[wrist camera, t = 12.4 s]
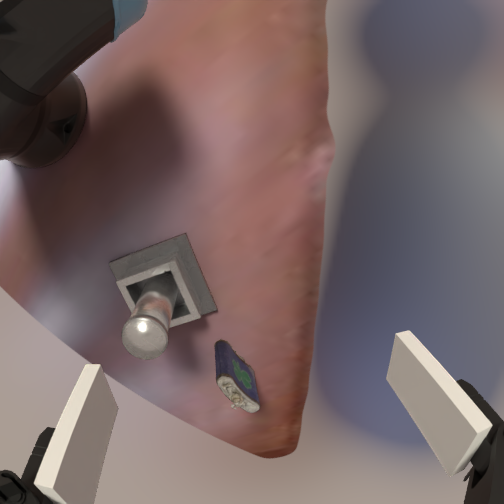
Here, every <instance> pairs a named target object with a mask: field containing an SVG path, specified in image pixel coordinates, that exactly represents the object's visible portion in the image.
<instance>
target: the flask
mask: <svg viewBox="0 0 504 504" xmlns="http://www.w3.org/2000/svg"><path fill="white" fill-rule="evenodd" d="M214 347H215V360H216V382H217V385H218V386H219V387H220V389H221V390H222V392H223V393H224V394H225V395H226V397H227V398H228V399H229V400H231V401H232V402H233V403H234V405H235V406H236V407H240V408H242V409H243V410H245V411H247V412H250V413H253V412H257V411H258V410H259V409H260V403H259V399H258V393H257V388H256V382H255V376H254V371H253V369H252V368H251V366H250V365H248V364H247V363H246V362H245V361H244V359H243V358H242V357H241V356H239V355H237V354H236V351H234V350H233V349H232V347H231V346H230V344H229V343H228V342H227V341H225V340H221V339H220V340H219V341H217V342H216V343H215V346H214ZM234 405H232V404H231V407H232V408H234ZM234 409H236V408H234Z"/></svg>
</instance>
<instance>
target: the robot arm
mask: <svg viewBox="0 0 504 504" xmlns="http://www.w3.org/2000/svg"><path fill="white" fill-rule="evenodd" d="M147 4H148V1H147V0H0V160H4V159H6V160H8V161H11V162H12V163H14V164H16V165H18V166H20V167H24V168H38V167H44V166H47V165H50V164H53V163H55V162H56V161H58V160H59V159H61V158H62V157H63V156H65V155H66V154H67V153H68V151H69V150H70V149H71V148H72V147H73V145H74V144H75V142H76V141H77V139H78V137H79V135H80V133H81V130H82V128H83V125H84V121H85V117H86V106H87V104H86V94H85V90H84V87H83V85H82V83H81V81H80V79H79V78H78V77H77V75H76V74H75V73H74V72H73V71H74V70H75V69H77V68H78V67H79V66H80V65H81V64H82V63H84V62H85V61H86V60H87V59H89V58H90V57H91V56H92V55H93V54H95V53H96V52H97V51H99V50H100V49H101V48H102V47H104V46H105V45H106V44H108V43H109V42H111V43H112V42H114V41H115V40H116V39H117V38H118V36H119V35H120V34H121V33H123V32H124V31H125V30H127V29H128V28H129V27H131V26H132V25H133V24H135V23H136V22H138V21H139V20H140V19H141V18H142V17H143V15H144V13H145V11H146V8H147ZM386 379H387V381H388V382H389V384H390V385H391V387H392V388H393V390H394V391H395V392H396V394H397V396H398V397H399V399H400V400H401V402H402V403H403V405H404V407H405V408H406V410H407V411H408V413H409V414H410V416H411V417H412V419H413V420H414V422H415V423H416V425H417V427H418V428H419V430H420V431H421V432H422V434H423V436H424V438H425V439H426V441H427V442H428V444H429V445H430V447H431V449H432V450H433V452H434V453H435V455H436V457H437V458H438V460H439V461H440V463H441V465H442V466H443V468H444V469H445V471H446V473H447V474H448V476H449V477H450V476H452V475H454V474H456V473H458V472H460V471H462V470H464V469H465V467H466V466H467V465H468V463H469V462H470V461H471V463H472V464H473V467H472V468H471V470H470V471H469V472H468V474H467V475H466V476H465V478H464V481H466V480H467V479H468V478H469V482H468V487H467V491H466V496H465V500H464V504H504V421H503V420H502V419H501V418H500V417H499V415H498V414H497V413H496V412H495V411H494V410H493V409H492V408H491V406H490V405H489V404H488V403H487V402H486V401H485V400H484V399H483V397H482V396H481V395H480V394H478V392H477V390H476V389H475V388H474V387H473V386H472V385H471V384H469V383H468V382H466V381H464V380H462V379H461V380H458V381H455V380H454V379H453V378H452V377H451V376H450V375H449V373H448V372H447V371H446V370H445V369H444V368H443V367H442V365H441V364H440V363H439V362H438V361H437V360H436V359H435V358H434V357H433V356H432V355H431V354H430V352H429V351H428V350H427V349H426V348H425V347H424V346H423V345H422V344H421V342H420V341H419V340H418V339H417V338H416V337H415V336H414V335H413V334H412V333H411V332H410V331H405V332H401V333H396V334H395V340H394V345H393V350H392V355H391V359H390V364H389V369H388V373H387V377H386ZM117 411H118V406H117V404H116V402H115V399H114V397H113V394H112V392H111V390H110V387H109V385H108V382H107V380H106V377H105V375H104V372H103V369H102V367H101V364H86V365H85V367H84V369H83V371H82V373H81V375H80V377H79V379H78V381H77V383H76V385H75V387H74V389H73V391H72V393H71V396H70V398H69V400H68V402H67V404H66V406H65V409H64V411H63V413H62V415H61V417H60V420H59V422H58V424H57V426H56V428H50V427H47V428H46V429H45V430H44V431H43V432H42V433H41V434H40V436H39V438H38V440H37V442H36V444H35V447H34V449H33V451H32V455H31V456H30V458H29V460H28V463H27V465H26V468H25V470H24V473H23V475H22V478H21V479H20V478H19V477H18V476H17V475H16V474H15V473H13V472H12V471H8V470H3V471H0V504H94V501H95V496H96V492H97V488H98V483H99V479H100V475H101V471H102V466H103V463H104V458H105V455H106V451H107V447H108V444H109V440H110V436H111V433H112V429H113V425H114V422H115V418H116V415H117ZM469 476H470V477H469Z"/></svg>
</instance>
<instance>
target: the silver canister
mask: <svg viewBox="0 0 504 504" xmlns="http://www.w3.org/2000/svg"><path fill="white" fill-rule="evenodd" d="M177 293H178V285H177V283H176V281H175V279H174V277H173V276H172V275H170V274H168V273H165V272H164V273H161V274H158V275H155V276H153V277H150V278H149V279H148V281H147V283H146V285H145V287H144V289H143V291H142V293H141V295H140V297H139V299H138V301H137V304H136V306H135V308H134V310H133V312H132V314H131V316H130V318H129V319H128V320H127V321H126V323H125V325H124V327H123V329H122V341H123V344H124V346H125V348H126V350H127V351H128V352H129V353H130V354H132V355H133V356H135V357H137V358H140V359H145V360H150V359H154V358H157V357H158V356H160V355H161V354H162V353H163V352H164V351H165V349H166V347H167V344H168V339H169V335H168V331H169V327H170V322H171V318H172V314H173V310H174V306H175V302H176V297H177Z"/></svg>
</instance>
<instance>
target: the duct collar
mask: <svg viewBox="0 0 504 504" xmlns="http://www.w3.org/2000/svg"><path fill="white" fill-rule="evenodd" d="M109 266H110V268H111V270H112V272H113V274H114V276H115V278H116V280H117V281H116V283H117V285H118V287H119V289H120V291H121V293H122V295H123V297H124V299H125V301H126V303H127V305H128V307H129V309H130V311H131V313H132V312H133V310H134V308H135V306H136V304H137V301H138V299H139V297H140V295H141V293H142V291H143V289H144V287H145V285H146V283H147V281H148V279H149V278H150V277H153V276H155V275H158V274H161V273H164V272H165V273H168V274H170V275H172V276H173V277H174V279H175V281H176V283H177V285H178V293H177V297H176V302H175V306H174V310H173V314H172V318H171V322H170V327H174V326H177V325H180V324H183V323H186V322H189V321H192V320H196V319H199V318H201V315H204V314H207V313H210V312H213V311H216V310H217V306H216V304H215V301H214V299H213V297H212V295H211V292H210V290H209V288H208V285H207V283H206V281H205V278H204V276H203V273H202V271H201V269H200V266H199V264H198V261H197V259H196V257H195V254H194V252H193V249H192V247H191V244H190V242H189V240H188V237H187V235H186V233H184V234H181V235H179V236H176V237H173V238H171V239H168V240H165V241H163V242H160V243H157V244H155V245H152V246H149V247H147V248H144V249H142V250H139V251H136V252H134V253H131V254H129V255H126V256H124V257H121V258H119V259H116V260H114V261H111V262H110V263H109ZM170 327H169V328H170Z"/></svg>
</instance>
